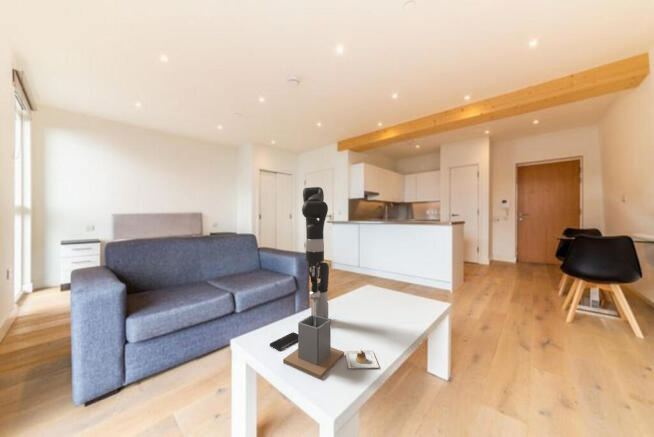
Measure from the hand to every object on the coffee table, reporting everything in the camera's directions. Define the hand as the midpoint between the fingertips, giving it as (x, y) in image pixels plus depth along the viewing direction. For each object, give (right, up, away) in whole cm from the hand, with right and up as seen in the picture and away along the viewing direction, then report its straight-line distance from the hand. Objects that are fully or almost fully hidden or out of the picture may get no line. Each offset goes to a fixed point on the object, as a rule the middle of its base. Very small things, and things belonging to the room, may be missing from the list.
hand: (314, 291), depth 98 cm
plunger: (0, -17, 0) cm, 17 cm away
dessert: (+19, -29, -1) cm, 34 cm away
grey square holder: (0, -28, 0) cm, 28 cm away
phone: (-14, -28, +14) cm, 34 cm away
